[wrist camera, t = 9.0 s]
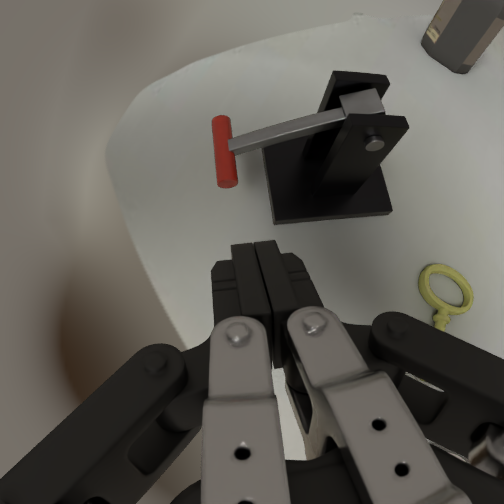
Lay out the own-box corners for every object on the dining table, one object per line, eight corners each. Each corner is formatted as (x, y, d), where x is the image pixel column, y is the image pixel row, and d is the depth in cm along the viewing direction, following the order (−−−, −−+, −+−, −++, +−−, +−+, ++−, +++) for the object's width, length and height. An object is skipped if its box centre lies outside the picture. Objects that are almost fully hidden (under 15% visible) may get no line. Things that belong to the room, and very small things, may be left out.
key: (411, 384, 27) (423, 387, 25) (416, 263, 30) (427, 258, 28) (463, 379, 27) (475, 380, 25) (466, 268, 30) (478, 264, 28)
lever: (225, 192, 25) (210, 181, 23) (218, 130, 27) (205, 116, 24) (393, 150, 21) (394, 133, 19) (369, 88, 22) (367, 69, 20)
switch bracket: (273, 225, 30) (300, 153, 18) (260, 142, 32) (274, 50, 20) (388, 215, 31) (459, 155, 19) (366, 139, 33) (415, 63, 21)
